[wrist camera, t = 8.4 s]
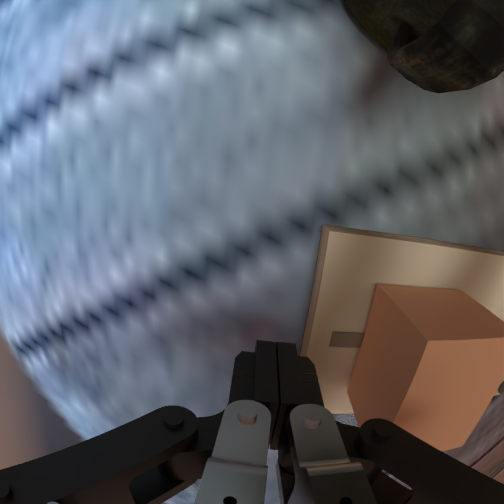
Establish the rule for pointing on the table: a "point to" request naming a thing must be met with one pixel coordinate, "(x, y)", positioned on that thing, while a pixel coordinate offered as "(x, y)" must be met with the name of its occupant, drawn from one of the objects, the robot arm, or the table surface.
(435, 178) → the table surface
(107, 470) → the robot arm
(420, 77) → the mug
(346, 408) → the count board
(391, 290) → the slider
